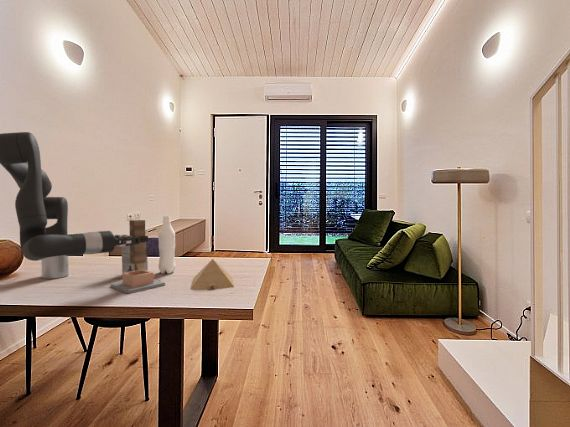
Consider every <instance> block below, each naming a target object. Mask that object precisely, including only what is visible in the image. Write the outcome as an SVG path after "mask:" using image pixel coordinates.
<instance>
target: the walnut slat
mask: <svg viewBox="0 0 570 427" xmlns="http://www.w3.org/2000/svg"><path fill="white" fill-rule="evenodd" d="M128 225H129V235H131V236H132V237H135V236H146V219H145V220H144V219H131V220H129V224H128ZM145 262H146V254H145V242H140V244H135V245H130V263H133V264H139V263H145Z"/></svg>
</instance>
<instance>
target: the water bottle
mask: <svg viewBox="0 0 570 427" xmlns="http://www.w3.org/2000/svg"><path fill="white" fill-rule="evenodd" d="M171 222H172V221H171V216H169V215H168V216H167V215H166V216H163V217H162V225H161V227H160V229H159V231H158V233H157V236H158V252H159V260H158V270H159V272H160V274H162V275H163V274H165V273H167V274H172V273H174V272H175V271H176V268H177V267H176V259H175V253H176V252H175V251H176V250H175V249H176V232H175V230H174V228H173V226H172V224H171Z"/></svg>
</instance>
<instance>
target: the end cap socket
mask: <svg viewBox="0 0 570 427" xmlns="http://www.w3.org/2000/svg"><path fill="white" fill-rule="evenodd" d="M154 274H155V273H154V272H153V271H149V270H148V271H147V270H143V269H142V270H137V271H131V272H125V273H122V277H121V278H122V281H118V282H113V283H110V287H111V288H113V289H117V290H119V291H122V292H124V293H126V294H133V293H137V292H142V291H145V290H150V289H156V288H158V287H163V286H166V282H164V281H161V280H158V279H155V278H154V277H155V275H154Z"/></svg>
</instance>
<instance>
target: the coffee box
mask: <svg viewBox="0 0 570 427" xmlns="http://www.w3.org/2000/svg"><path fill="white" fill-rule="evenodd" d="M145 254H146V262H145V263H139V264H133V263H130V245H129V246H126V245H125V246H121V264H122V265H121V268H122V269H121V272H122V273H125V272H131V271H137V270H142V269H143V270H147V271H149V270H148V268H149V267H148V242H145Z"/></svg>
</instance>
